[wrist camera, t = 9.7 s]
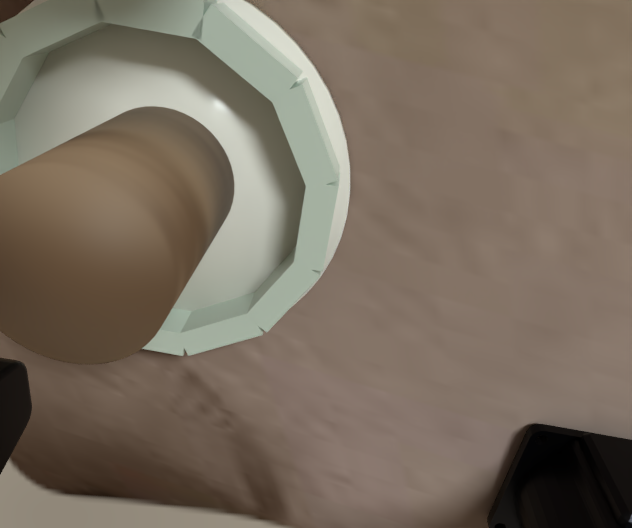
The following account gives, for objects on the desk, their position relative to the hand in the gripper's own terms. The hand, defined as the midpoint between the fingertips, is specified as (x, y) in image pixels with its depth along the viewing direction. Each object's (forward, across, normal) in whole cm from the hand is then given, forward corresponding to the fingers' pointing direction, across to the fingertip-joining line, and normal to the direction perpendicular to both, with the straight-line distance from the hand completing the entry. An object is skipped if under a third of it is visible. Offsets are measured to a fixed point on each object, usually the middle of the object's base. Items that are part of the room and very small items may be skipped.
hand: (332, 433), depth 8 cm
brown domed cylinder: (+12, +6, +1) cm, 13 cm away
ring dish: (+12, +6, +1) cm, 14 cm away
